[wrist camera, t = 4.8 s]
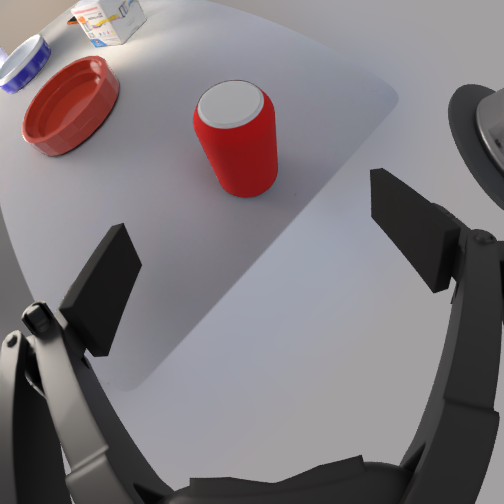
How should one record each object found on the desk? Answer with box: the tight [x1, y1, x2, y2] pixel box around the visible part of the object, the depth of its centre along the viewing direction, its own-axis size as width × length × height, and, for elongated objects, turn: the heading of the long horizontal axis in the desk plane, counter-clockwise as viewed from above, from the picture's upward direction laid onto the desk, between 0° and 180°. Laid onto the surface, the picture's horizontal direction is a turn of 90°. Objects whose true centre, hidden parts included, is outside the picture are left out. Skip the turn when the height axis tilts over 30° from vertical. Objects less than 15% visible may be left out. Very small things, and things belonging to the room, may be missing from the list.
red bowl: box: [22, 56, 119, 156], centre depth 34 cm, size 17×17×5 cm
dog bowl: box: [0, 35, 51, 94], centre depth 41 cm, size 15×15×6 cm
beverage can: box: [193, 80, 278, 197], centre depth 25 cm, size 6×6×12 cm
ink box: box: [71, 0, 147, 47], centre depth 35 cm, size 9×8×12 cm
